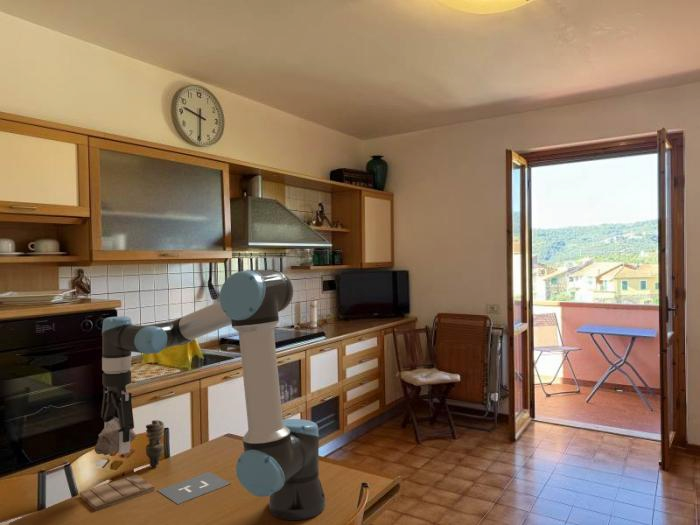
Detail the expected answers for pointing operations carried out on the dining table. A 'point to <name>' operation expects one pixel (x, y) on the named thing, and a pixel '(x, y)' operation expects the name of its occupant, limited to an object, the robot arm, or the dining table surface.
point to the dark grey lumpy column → (154, 441)
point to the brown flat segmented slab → (116, 492)
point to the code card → (193, 487)
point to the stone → (110, 438)
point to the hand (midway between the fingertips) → (117, 448)
